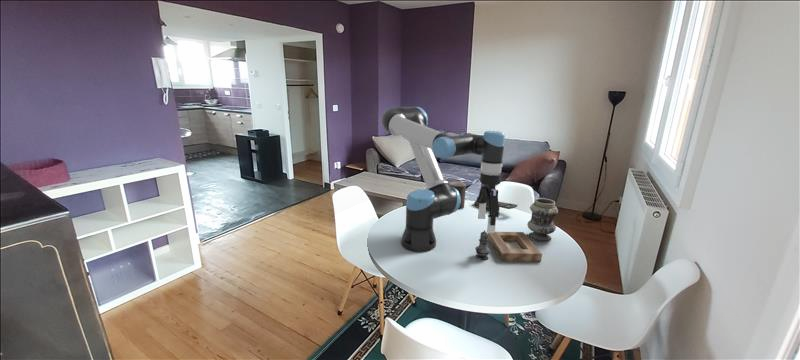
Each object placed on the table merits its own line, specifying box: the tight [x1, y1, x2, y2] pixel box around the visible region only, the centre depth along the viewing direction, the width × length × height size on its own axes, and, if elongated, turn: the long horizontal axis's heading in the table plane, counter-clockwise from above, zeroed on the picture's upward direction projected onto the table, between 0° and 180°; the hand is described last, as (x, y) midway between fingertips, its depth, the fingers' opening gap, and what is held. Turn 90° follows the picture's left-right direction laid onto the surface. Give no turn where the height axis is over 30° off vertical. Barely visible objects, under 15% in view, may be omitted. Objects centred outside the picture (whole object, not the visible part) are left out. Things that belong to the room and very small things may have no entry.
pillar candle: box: [449, 181, 467, 211], centre depth 188 cm, size 10×10×15 cm
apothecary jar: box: [526, 197, 559, 243], centre depth 151 cm, size 12×12×18 cm
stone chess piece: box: [474, 230, 491, 262], centre depth 132 cm, size 6×6×12 cm
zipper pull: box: [473, 196, 518, 212], centre depth 184 cm, size 9×7×25 cm
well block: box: [487, 231, 543, 263], centre depth 141 cm, size 16×20×4 cm
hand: (485, 225), depth 130 cm, fingers open, 13 cm apart
